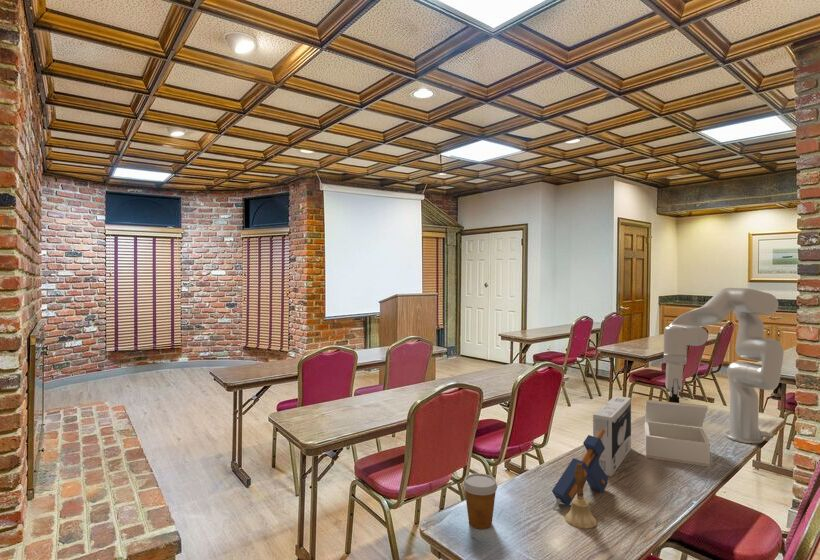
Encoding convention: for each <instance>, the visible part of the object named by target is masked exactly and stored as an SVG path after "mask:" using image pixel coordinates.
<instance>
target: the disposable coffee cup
mask: <svg viewBox="0 0 820 560" xmlns="http://www.w3.org/2000/svg"><path fill="white" fill-rule="evenodd" d="M462 487H463V489H464V494H465V501H466V509H467V516H468V523H469V525H470V526H471V528H474V529H478V530H486V529H490V528H491V527H492V524H493V516H494V508H495V501H496V494H497V493H496V492H497V489H498V488H499V487H498V483H497V481H496V478H495V477H493V475H489V474H486V473H480V472H477V473H471V474H468V475H466V476H465V477H464V480H463V482H462Z"/></svg>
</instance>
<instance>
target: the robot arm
mask: <svg viewBox="0 0 820 560" xmlns="http://www.w3.org/2000/svg"><path fill="white" fill-rule="evenodd" d="M776 297H777V296H775V295H773V294H772V293H769V292H764V291H761V290H757V289H754V288H747V287H746V288H745V287H744V288H743V287H736V288H735V287H724V288H722V289H720V290H718V291H717V292H716V293H715V294H714V295H713V296H712V297H711V298H709V300H708V301H706V302H705V303H704V305H702V306H700V307H698V308H694V309H692V310H690V311H687V312H684V313H682V314H680V315H678V316H677V317H676V318H675V319H674V320H673V321H671V323H670V324H668V325H667V326H665V327H664V330H663V362H662V363H665V382H664V383H665V388H666V390H669V396H668V402H674V403H680V392H681V391H683V376H684V375H683V373H684V371H683V368H684V365H686V364H687V350H688V349H687V346H695V347H697V346H698V347H699V346H703V345H704V344H706V342H707V341H708V338H709V334H708V332H707V330H706V329H705V328H704V327H707V326H713V325H717V324H719V323H721V322H723V321H724V320H725V319H726V318H727V316H729V315H730V314H731V313H732V312H733V314H734V315H735V317H736V319H737V323H738V327H737V329H738V330H737V334H736V335H737V336H736V342H735V354H736V355H737V356H738V357H740V358H741V359H746V360H751V361H757V362H761V364H760V363H759V364H758V363H753V362H750V361H749V362H748V361H741V360H739V361H738V360H736V361H733V362H731V363H730V364H728V366H727V369H726V374H727V380H728V384H729V386H728V387H729V430H727V431H725V434H724V435H725V437H726V438H727V439H730V440H731V441H732V440H733V441H736V442H739V443H745V444H751V443H752V444H751V445H753V444H762V443H763V442H764V438H767V439H773V438H774V433H772V432H768V431H765V430H764V431H762V430H760V427H759V407H760V406H759V402H760V401H759V395H758V393H757V390H756V389H759V390H764V391H774V390H776V389H777V388H778V386H779V384H780V380H781V374H782V367H783V360H784V348H783V344H782V343H781V342H780V341H779V340H776V339H775V338H771V337H770V338H769V337H764V332H765V331H764V330H765V324H764V321H763V320H762V318H761V315H763V316H770V315H774V314H775V313H776V311H777V310H778V308H779V300H778V299H777V298H776ZM759 315H760V316H759Z"/></svg>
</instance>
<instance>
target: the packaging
mask: <svg viewBox="0 0 820 560" xmlns="http://www.w3.org/2000/svg"><path fill="white" fill-rule="evenodd" d="M601 429H604V430H605V433H604V435H603V436H602V438H601V441H602V443H603V445H604V447H605V449H604V451H603V452H602V454H601V456H600V458H599V465H600V467H601V468H602V470H603V471H604V473H605V474H606V476H608V475H609V476H608V477H612V476H613V475H614V474H615V472H616V471H617V470H618V468H619V467H620V466H621V464H622V463H623V461H624V460H625V458H626V457H627V456H628V454H629V453H630V451H631V450H632V398H631V397H626V396H621V395H620V396H619V395H614V396H613V397H612V398H610V399H609V401H607V402H606V404H604V405H603V406H601V407H600V408H599V409H598V410H597V411H596V412H595V413H594V414H593V415H592V430H593V431H592V433H593V434H592V436H594V437H597V435H598V434H599V432H600V431H601Z"/></svg>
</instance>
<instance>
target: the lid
mask: <svg viewBox="0 0 820 560" xmlns="http://www.w3.org/2000/svg"><path fill="white" fill-rule="evenodd" d="M708 408H709V407H708V405H705V404H704V405H703V404H702V405H701V404H695V403H694V404H692V403H682V402H681V403H680V402H679V403H674V402H669V401H665V400H664V401H663V400H654V399H646V401H645V415H644V418H645V421H644V422H651V423H660V424H668V425H677V426H685V427H694V428H703V425H704V422H705V419H706V415H707V413H708V412H707V411H708Z"/></svg>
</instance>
